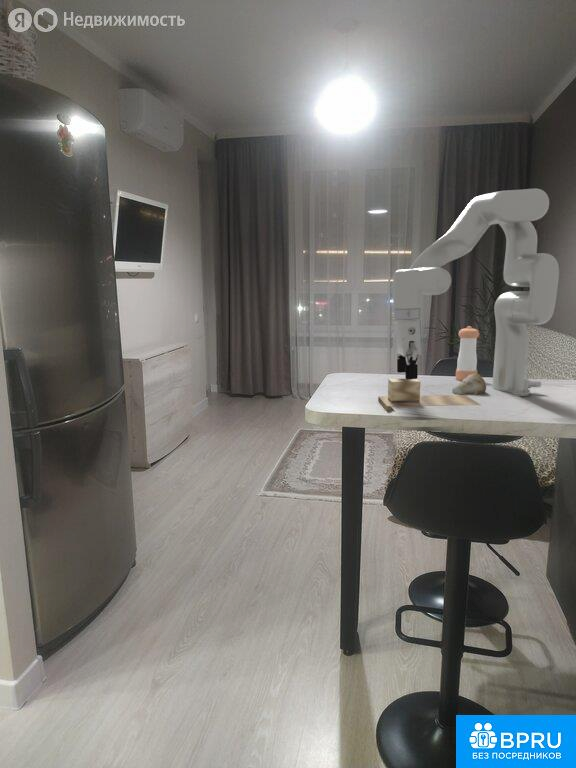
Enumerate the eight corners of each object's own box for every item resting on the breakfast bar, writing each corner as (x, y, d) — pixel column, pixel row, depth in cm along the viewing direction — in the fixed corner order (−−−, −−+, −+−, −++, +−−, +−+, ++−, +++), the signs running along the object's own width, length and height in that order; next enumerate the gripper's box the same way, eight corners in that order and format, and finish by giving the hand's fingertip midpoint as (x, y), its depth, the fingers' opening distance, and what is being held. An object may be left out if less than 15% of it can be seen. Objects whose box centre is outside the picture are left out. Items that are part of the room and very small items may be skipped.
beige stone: (444, 397, 159) (454, 367, 161) (469, 409, 161) (479, 380, 163) (458, 396, 152) (468, 365, 153) (484, 408, 154) (495, 378, 155)
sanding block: (415, 398, 149) (416, 378, 148) (419, 402, 145) (420, 381, 143) (387, 399, 149) (388, 378, 148) (391, 402, 144) (391, 381, 143)
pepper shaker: (470, 382, 180) (473, 327, 176) (451, 379, 185) (454, 326, 181) (480, 379, 185) (484, 326, 181) (462, 376, 190) (465, 324, 186)
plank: (464, 400, 153) (465, 395, 153) (480, 410, 141) (480, 404, 141) (378, 401, 153) (378, 396, 152) (386, 411, 141) (386, 406, 141)
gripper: (429, 316, 134) (429, 381, 137) (412, 311, 150) (412, 369, 154) (401, 318, 133) (401, 382, 137) (387, 313, 150) (387, 370, 154)
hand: (407, 375), depth 146 cm, fingers open, 9 cm apart
